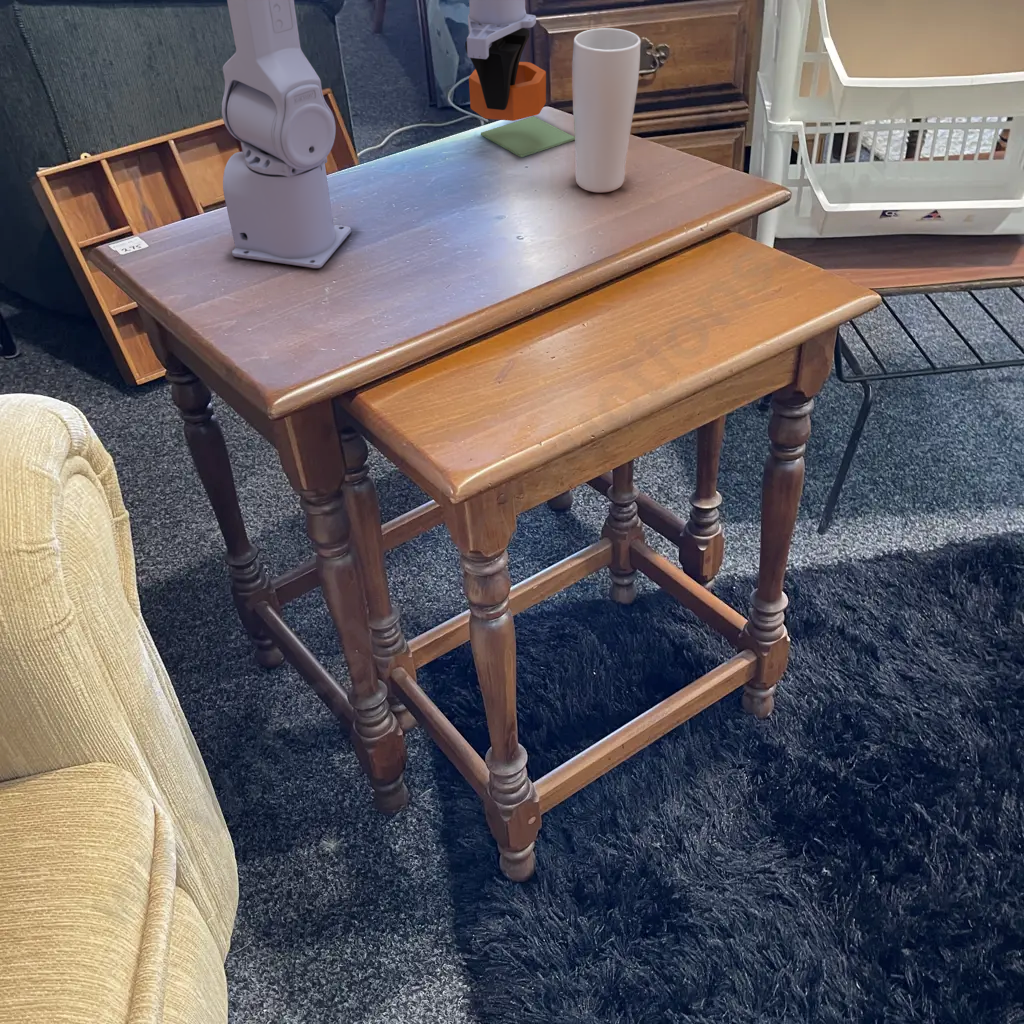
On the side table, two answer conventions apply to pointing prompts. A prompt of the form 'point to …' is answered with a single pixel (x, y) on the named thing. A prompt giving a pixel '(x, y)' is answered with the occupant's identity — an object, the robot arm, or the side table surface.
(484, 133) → the mat
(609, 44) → the drinking glass
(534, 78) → the ring
